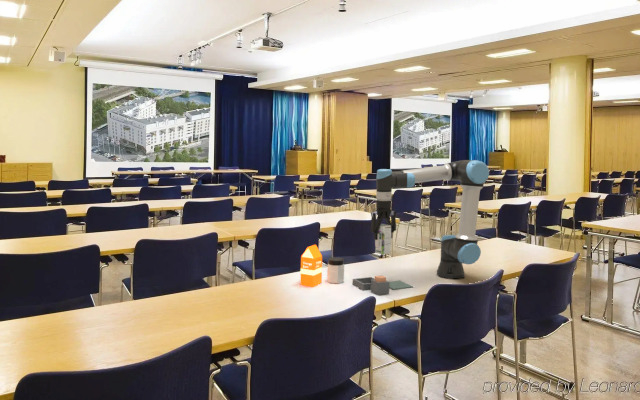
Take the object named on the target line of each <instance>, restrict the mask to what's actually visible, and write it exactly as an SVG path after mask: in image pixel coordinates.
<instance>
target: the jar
mask: <svg viewBox="0 0 640 400" xmlns="http://www.w3.org/2000/svg"><path fill="white" fill-rule="evenodd" d="M344 260H345V259H344V258H342V257H335V256H334V257H329V258H328V260H327V269H326V270H327V271H326V272H327V275H326V278H327V279H326V280H327V282H328V283H329V284H335V283H338V284H341V283H340V282H343V283H344V282H345V280H344V279H345V264H344V262H345V261H344Z"/></svg>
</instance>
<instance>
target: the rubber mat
mask: <svg viewBox="0 0 640 400" xmlns="http://www.w3.org/2000/svg"><path fill="white" fill-rule="evenodd" d="M411 288H414V285H412V284H409V283H407V282H404V281H402V280H401V279H400V280H399V279H398V280H391V281H390V280H389V290H393V291H395V290H404V289H405V290H406V289H411Z"/></svg>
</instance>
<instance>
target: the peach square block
mask: <svg viewBox="0 0 640 400" xmlns="http://www.w3.org/2000/svg"><path fill="white" fill-rule="evenodd" d="M374 279H375V281H377V282H386V281H387V277H386V276H384V275H375V276H374Z"/></svg>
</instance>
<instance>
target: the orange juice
mask: <svg viewBox="0 0 640 400" xmlns="http://www.w3.org/2000/svg"><path fill="white" fill-rule="evenodd" d="M322 273H323V255H322V253H321V252H320V250H319V248H318V246H317V244H312V245H310V246H307V247H306V249H305V251H304V252H303V253H302V254H301V256H300V286H305V287H310V288H315V287H318V284H319V285H321V284H322V280H323V279H322V278H323V274H322ZM320 283H321V284H320Z"/></svg>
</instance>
